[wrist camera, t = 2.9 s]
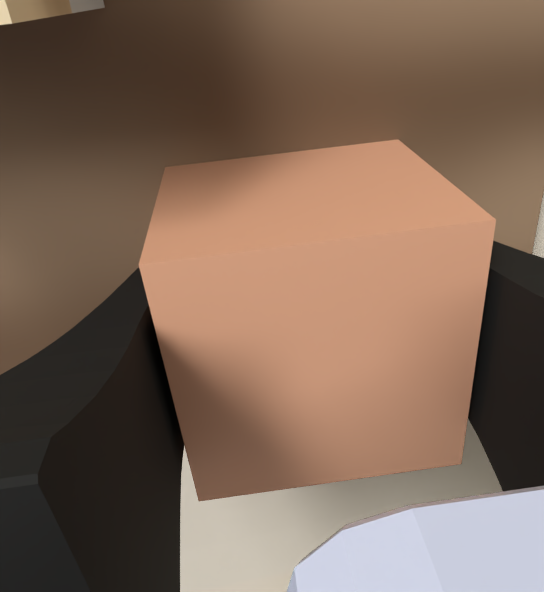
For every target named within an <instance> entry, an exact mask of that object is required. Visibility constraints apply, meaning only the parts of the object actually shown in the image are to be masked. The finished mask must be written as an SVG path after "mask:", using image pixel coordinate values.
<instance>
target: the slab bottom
mask: <svg viewBox="0 0 544 592" xmlns="http://www.w3.org/2000/svg"><path fill="white" fill-rule="evenodd" d="M69 2H70V6H71V10H72V13H77V12H82V11H88V10H94V9H100V8H105V6H104V2H103V0H69Z"/></svg>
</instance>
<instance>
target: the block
mask: <svg viewBox="0 0 544 592" xmlns="http://www.w3.org/2000/svg"><path fill="white" fill-rule="evenodd" d="M495 225H496V219H495V218H494V217H492V216H491V215H490V214H489V213H487V212H486V211H485V210H484V209H483V208H481V207H480V206H479V205H478V204H476V203H475V202H474V201H473V200H472V199H470V198H469V197H468V196H467V195H465V194H464V193H463V192H462V191H461V190H459V189H458V188H457V187H456V186H454V185H453V184H452V183H451V182H450V181H448V180H447V179H446V178H445V177H443V176H442V175H441V174H440V173H439V172H437V171H436V170H435V169H434V168H432V167H431V166H430V165H429V164H428V163H426V162H425V161H424V160H423V159H421V158H420V157H419V156H418V155H417V154H415V153H414V152H413V151H412V150H410V149H409V148H408V147H407V146H406V145H404V144H403V143H402V142H401V141H400V140H389V141H381V142H372V143H364V144H356V145H347V146H339V147H330V148H322V149H314V150H305V151H297V152H288V153H280V154H272V155H263V156H255V157H246V158H238V159H230V160H221V161H213V162H204V163H196V164H187V165H179V166H171V167H165V170H164V174H163V177H162V181H161V185H160V188H159V192H158V196H157V199H156V203H155V207H154V210H153V214H152V217H151V221H150V225H149V228H148V232H147V236H146V239H145V243H144V247H143V250H142V254H141V258H140V261H139V268H140V272H141V276H142V280H143V284H144V288H145V292H146V296H147V300H148V304H149V307H150V311H151V315H152V319H153V323H154V327H155V331H156V335H157V339H158V343H159V347H160V351H161V355H162V359H163V362H164V366H165V370H166V374H167V378H168V382H169V386H170V390H171V394H172V398H173V402H174V406H175V410H176V414H177V417H178V421H179V425H180V429H181V433H182V437H183V441H184V445H185V449H186V453H187V457H188V461H189V465H190V469H191V472H192V476H193V480H194V484H195V488H196V492H197V496H198V500H199V501H204V500H211V499H219V498H226V497H233V496H240V495H247V494H254V493H261V492H268V491H275V490H282V489H289V488H296V487H303V486H310V485H317V484H324V483H331V482H338V481H345V480H352V479H359V478H366V477H373V476H381V475H388V474H395V473H402V472H409V471H416V470H423V469H430V468H437V467H444V466H451V465H458V464H461V462H462V455H463V448H464V441H465V434H466V427H467V420H468V413H469V406H470V399H471V392H472V385H473V378H474V371H475V364H476V357H477V350H478V343H479V336H480V329H481V323H482V316H483V309H484V302H485V295H486V288H487V281H488V274H489V267H490V260H491V253H492V246H493V239H494V232H495Z"/></svg>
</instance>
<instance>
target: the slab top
mask: <svg viewBox="0 0 544 592" xmlns="http://www.w3.org/2000/svg"><path fill="white" fill-rule="evenodd" d="M71 13H72V10H71V6H70V2H69V0H0V25H4V24H13V23H19V22H25V21H30V20H36V19H42V18H48V17H54V16H59V15H65V14H71Z"/></svg>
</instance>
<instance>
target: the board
mask: <svg viewBox="0 0 544 592" xmlns="http://www.w3.org/2000/svg"><path fill="white" fill-rule="evenodd" d="M103 2H104V6H105V8H100V9H94V10H88V11H82V12H77V13H71V14H65V15H59V16H54V17H48V18H42V19H36V20H30V21H25V22H19V23H13V24H4V25H0V375H1V374H3V373H4V372H6V371H8V370H10V369H11V368H13V367H15V366H17V365H18V364H20V363H22V362H24V361H25V360H27V359H29V358H30V357H32V356H33V355H35V354H37V353H38V352H39V351H41V350H42V349H44V348H45V347H47V346H48V345H50V344H51V343H53V342H54V341H56V340H57V339H58V338H60V337H61V336H62V335H64V334H65V333H66V332H68V331H69V330H70V329H72V328H73V327H74V326H75V325H77V324H78V323H79V322H80V321H81V320H82V319H84V318H85V317H86V316H87V315H88V314H89V313H91V312H92V311H93V310H94V309H95V308H96V307H98V306H99V305H100V304H101V303H102V302H103V301H104V300H106V299H107V298H108V297H109V296H110V295H111V294H112V293H113V292H114V291H115V290H116V289H117V288H118V287H119V286H120V285H121V284H122V283H123V282H124V281H125V280H126V279H127V278H128V277H129V276H130V275H131V274H132V273H133V272H134V271H135V270H136V269H137V268H138V267H139V261H140V258H141V254H142V250H143V247H144V243H145V239H146V236H147V232H148V228H149V225H150V221H151V217H152V214H153V210H154V207H155V203H156V199H157V196H158V192H159V188H160V185H161V181H162V177H163V174H164V170H165V167H171V166H179V165H187V164H196V163H204V162H213V161H221V160H230V159H238V158H246V157H255V156H263V155H272V154H280V153H288V152H297V151H305V150H314V149H322V148H330V147H339V146H347V145H356V144H364V143H372V142H381V141H389V140H400V141H401V142H402V143H403V144H404V145H406V146H407V147H408V148H409V149H410V150H412V151H413V152H414V153H415V154H417V155H418V156H419V157H420V158H421V159H423V160H424V161H425V162H426V163H428V164H429V165H430V166H431V167H432V168H434V169H435V170H436V171H437V172H439V173H440V174H441V175H442V176H443V177H445V178H446V179H447V180H448V181H450V182H451V183H452V184H453V185H454V186H456V187H457V188H458V189H459V190H461V191H462V192H463V193H464V194H465V195H467V196H468V197H469V198H470V199H472V200H473V201H474V202H475V203H476V204H478V205H479V206H480V207H481V208H483V209H484V210H485V211H486V212H487V213H489V214H490V215H491V216H492V217H494V218H495V219H496V225H495V232H494V239H493V241H496V242H499V243H501V244H504V245H507V246H510V247H512V248H515V249H518V250H521V251H524V252H526V253H529V254H532V250H533V245H534V239H535V234H536V229H537V224H538V218H539V213H540V208H541V202H542V197H543V192H544V0H103Z"/></svg>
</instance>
